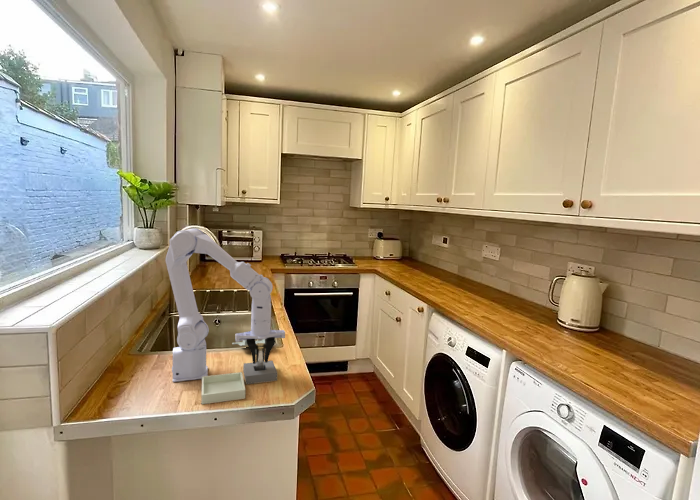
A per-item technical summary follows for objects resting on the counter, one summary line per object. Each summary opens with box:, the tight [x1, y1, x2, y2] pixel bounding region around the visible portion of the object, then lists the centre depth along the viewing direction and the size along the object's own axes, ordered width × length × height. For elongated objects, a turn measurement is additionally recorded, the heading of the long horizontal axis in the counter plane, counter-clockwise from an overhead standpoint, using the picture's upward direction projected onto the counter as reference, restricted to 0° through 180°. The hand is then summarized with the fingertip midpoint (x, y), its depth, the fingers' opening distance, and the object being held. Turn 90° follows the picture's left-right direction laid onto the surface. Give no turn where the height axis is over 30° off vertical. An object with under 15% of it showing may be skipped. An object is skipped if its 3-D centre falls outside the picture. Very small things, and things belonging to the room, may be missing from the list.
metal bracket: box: [231, 339, 265, 356], centre depth 136 cm, size 14×6×15 cm
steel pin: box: [255, 343, 266, 371], centre depth 114 cm, size 3×3×9 cm
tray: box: [200, 371, 246, 405], centre depth 104 cm, size 11×11×2 cm
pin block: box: [242, 360, 278, 385], centre depth 114 cm, size 9×9×2 cm
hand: (260, 361), depth 114 cm, fingers closed on steel pin, 3 cm apart
